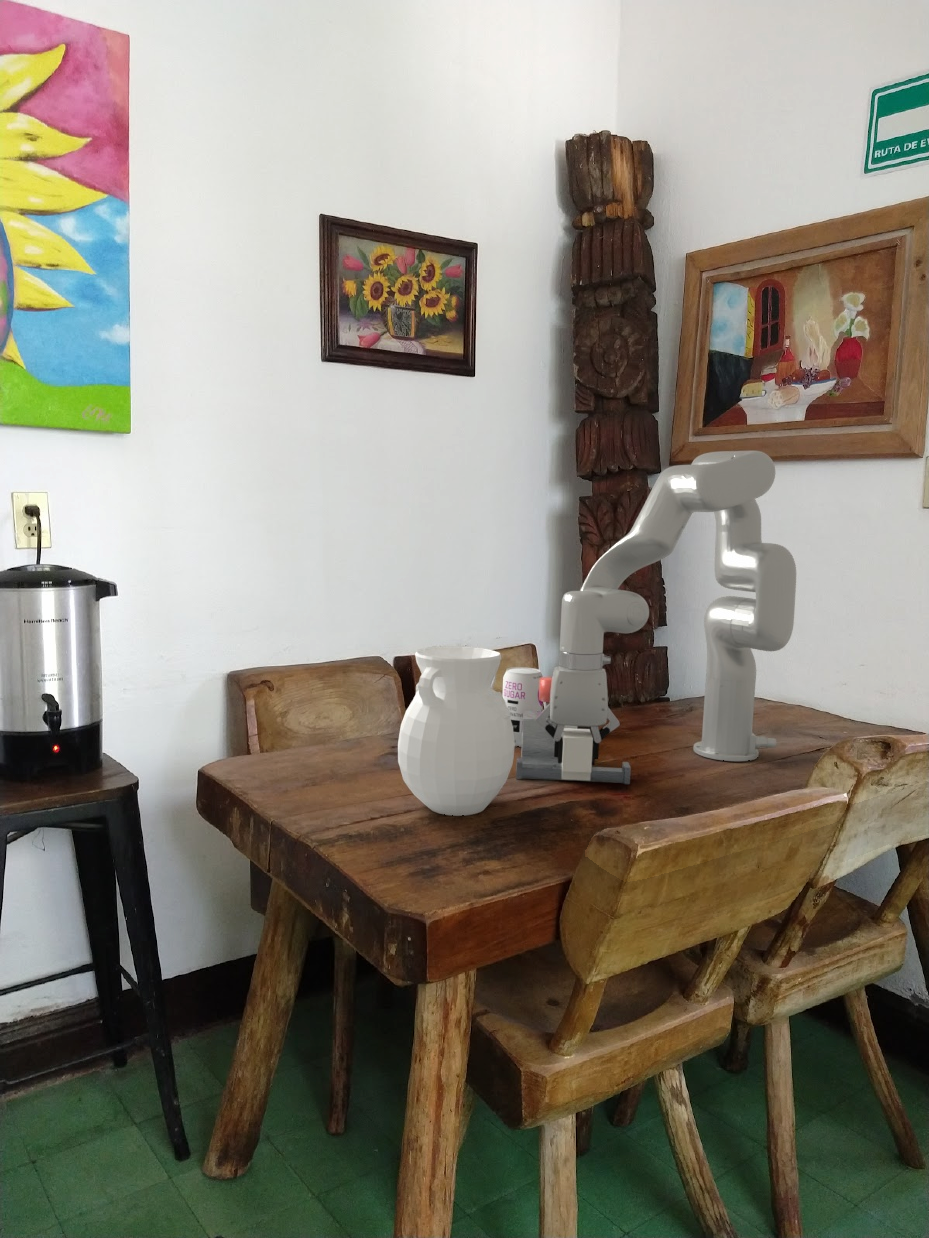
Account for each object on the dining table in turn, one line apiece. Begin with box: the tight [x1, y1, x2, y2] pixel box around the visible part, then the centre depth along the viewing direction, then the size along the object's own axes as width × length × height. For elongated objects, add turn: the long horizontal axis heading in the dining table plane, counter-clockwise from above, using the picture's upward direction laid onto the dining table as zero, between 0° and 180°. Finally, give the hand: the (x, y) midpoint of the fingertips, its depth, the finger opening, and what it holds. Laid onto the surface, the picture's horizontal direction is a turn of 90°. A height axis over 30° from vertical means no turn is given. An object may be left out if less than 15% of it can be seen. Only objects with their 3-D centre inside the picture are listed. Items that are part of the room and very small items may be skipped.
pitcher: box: [397, 645, 516, 817], centre depth 146 cm, size 19×18×25 cm
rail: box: [515, 756, 632, 785], centre depth 164 cm, size 20×4×3 cm, turn 87°
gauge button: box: [539, 676, 553, 718], centre depth 173 cm, size 4×4×8 cm
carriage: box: [561, 728, 593, 782], centre depth 164 cm, size 5×7×8 cm
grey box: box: [520, 710, 577, 765], centre depth 174 cm, size 10×7×9 cm
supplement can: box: [502, 666, 544, 748], centre depth 188 cm, size 8×8×15 cm
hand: (575, 761), depth 164 cm, fingers closed on carriage, 5 cm apart
